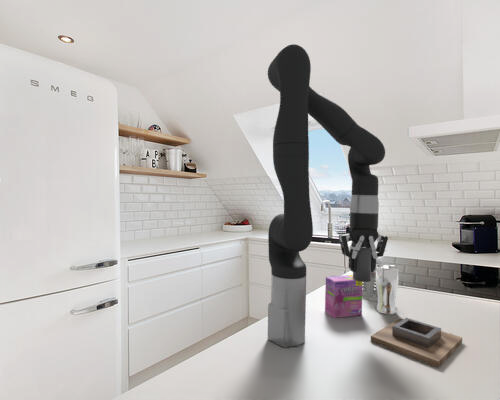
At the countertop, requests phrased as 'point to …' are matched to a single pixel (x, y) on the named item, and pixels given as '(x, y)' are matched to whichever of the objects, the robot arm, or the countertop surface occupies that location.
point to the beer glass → (386, 288)
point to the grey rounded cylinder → (363, 265)
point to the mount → (418, 341)
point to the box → (343, 296)
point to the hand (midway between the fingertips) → (362, 270)
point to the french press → (371, 285)
